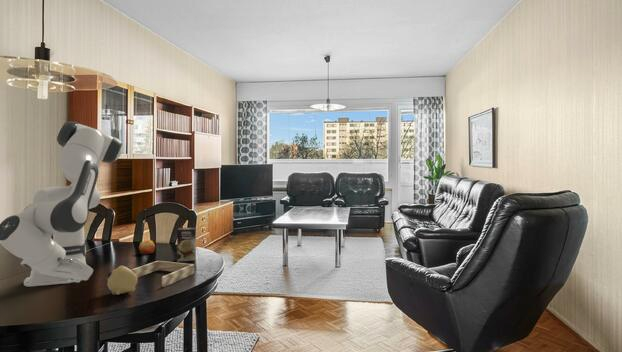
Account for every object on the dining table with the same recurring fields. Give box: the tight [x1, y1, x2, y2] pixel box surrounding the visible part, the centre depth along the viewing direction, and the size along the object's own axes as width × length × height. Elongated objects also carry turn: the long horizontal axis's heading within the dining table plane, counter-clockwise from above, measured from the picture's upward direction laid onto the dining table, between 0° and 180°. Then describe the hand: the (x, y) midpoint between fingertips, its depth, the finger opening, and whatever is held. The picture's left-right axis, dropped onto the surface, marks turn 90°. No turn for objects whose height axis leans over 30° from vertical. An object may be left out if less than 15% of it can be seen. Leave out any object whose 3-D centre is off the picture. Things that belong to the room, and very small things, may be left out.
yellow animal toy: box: [107, 265, 139, 296], centre depth 137 cm, size 10×12×11 cm
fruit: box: [138, 239, 156, 255], centre depth 201 cm, size 8×8×8 cm
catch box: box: [130, 260, 196, 288], centre depth 157 cm, size 20×20×4 cm
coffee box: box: [176, 227, 197, 263], centre depth 187 cm, size 9×6×16 cm
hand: (77, 280), depth 120 cm, fingers closed
